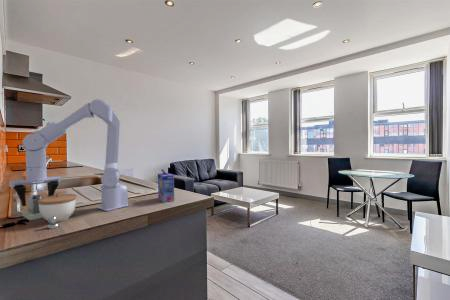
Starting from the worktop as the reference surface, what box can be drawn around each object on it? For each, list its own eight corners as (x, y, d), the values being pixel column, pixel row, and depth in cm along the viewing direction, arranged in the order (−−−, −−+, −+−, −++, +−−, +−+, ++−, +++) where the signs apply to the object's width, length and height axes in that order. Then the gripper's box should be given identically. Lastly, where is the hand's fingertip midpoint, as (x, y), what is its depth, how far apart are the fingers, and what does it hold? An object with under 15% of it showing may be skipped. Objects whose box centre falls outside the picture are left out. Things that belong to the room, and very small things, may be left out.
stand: (44, 210, 87) (44, 206, 87) (53, 214, 82) (53, 210, 82) (21, 215, 82) (21, 211, 82) (30, 220, 76) (29, 215, 76)
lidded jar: (35, 219, 77) (35, 193, 77) (71, 212, 85) (71, 188, 85) (42, 227, 70) (41, 198, 70) (80, 218, 78) (80, 192, 78)
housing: (33, 214, 78) (33, 198, 78) (27, 210, 83) (27, 195, 82) (47, 211, 81) (47, 196, 81) (41, 207, 86) (41, 193, 86)
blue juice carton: (157, 197, 108) (157, 168, 108) (168, 196, 111) (168, 168, 110) (162, 202, 99) (162, 170, 99) (174, 200, 102) (174, 170, 102)
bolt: (56, 225, 72) (56, 214, 72) (60, 227, 70) (60, 216, 70) (45, 227, 70) (45, 217, 69) (49, 230, 68) (48, 219, 68)
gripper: (11, 169, 73) (13, 209, 74) (63, 166, 85) (64, 200, 85) (7, 168, 77) (8, 206, 78) (57, 165, 89) (58, 198, 89)
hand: (37, 203), depth 82 cm, fingers open, 7 cm apart
